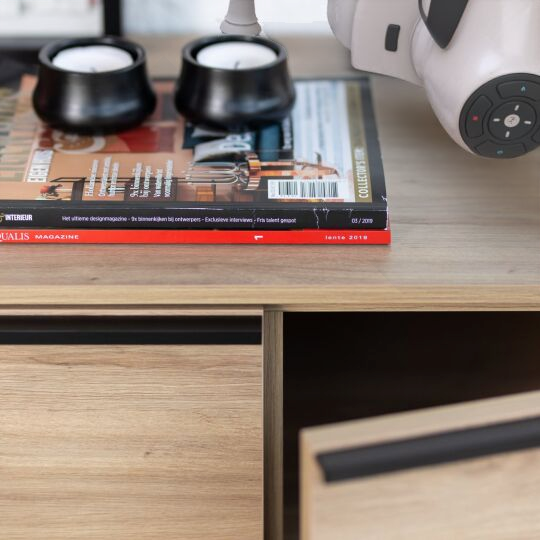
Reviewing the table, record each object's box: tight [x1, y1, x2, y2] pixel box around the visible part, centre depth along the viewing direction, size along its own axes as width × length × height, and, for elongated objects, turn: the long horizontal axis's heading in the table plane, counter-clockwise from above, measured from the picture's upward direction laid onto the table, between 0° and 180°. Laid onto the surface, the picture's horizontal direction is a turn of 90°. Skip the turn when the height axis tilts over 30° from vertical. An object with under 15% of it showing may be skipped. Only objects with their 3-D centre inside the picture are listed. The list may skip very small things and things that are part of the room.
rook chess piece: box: [218, 0, 262, 38], centre depth 96 cm, size 4×4×8 cm
